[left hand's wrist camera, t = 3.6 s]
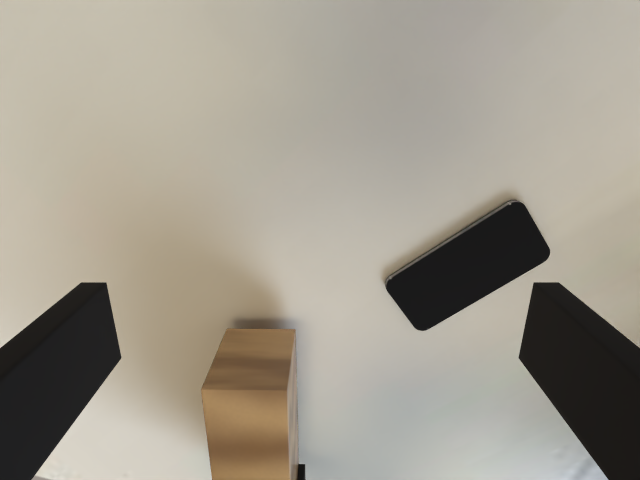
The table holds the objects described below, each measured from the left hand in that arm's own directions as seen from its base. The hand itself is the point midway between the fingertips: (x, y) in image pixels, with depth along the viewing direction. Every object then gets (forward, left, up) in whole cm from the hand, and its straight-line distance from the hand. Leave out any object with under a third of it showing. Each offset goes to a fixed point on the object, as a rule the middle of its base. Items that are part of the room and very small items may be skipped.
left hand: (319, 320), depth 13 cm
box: (+18, +20, -24) cm, 36 cm away
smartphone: (-8, +16, -26) cm, 31 cm away
